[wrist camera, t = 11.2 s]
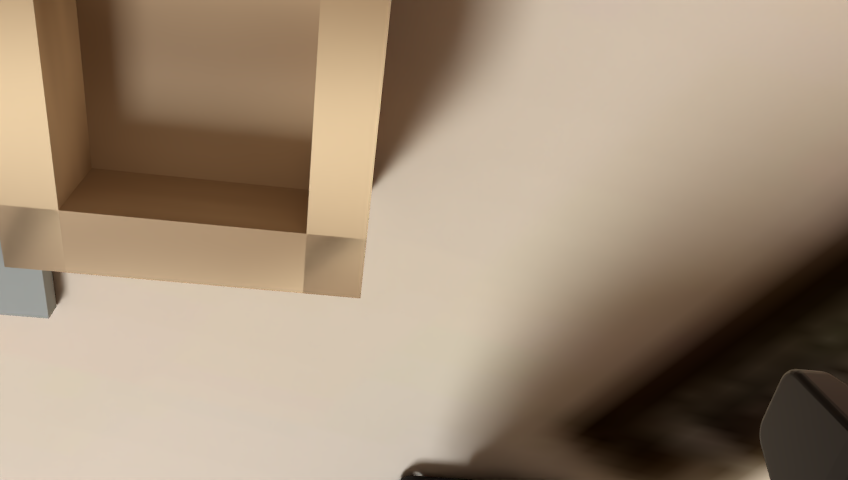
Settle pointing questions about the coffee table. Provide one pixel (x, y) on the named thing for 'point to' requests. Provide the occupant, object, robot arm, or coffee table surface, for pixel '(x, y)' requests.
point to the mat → (26, 291)
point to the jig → (191, 139)
